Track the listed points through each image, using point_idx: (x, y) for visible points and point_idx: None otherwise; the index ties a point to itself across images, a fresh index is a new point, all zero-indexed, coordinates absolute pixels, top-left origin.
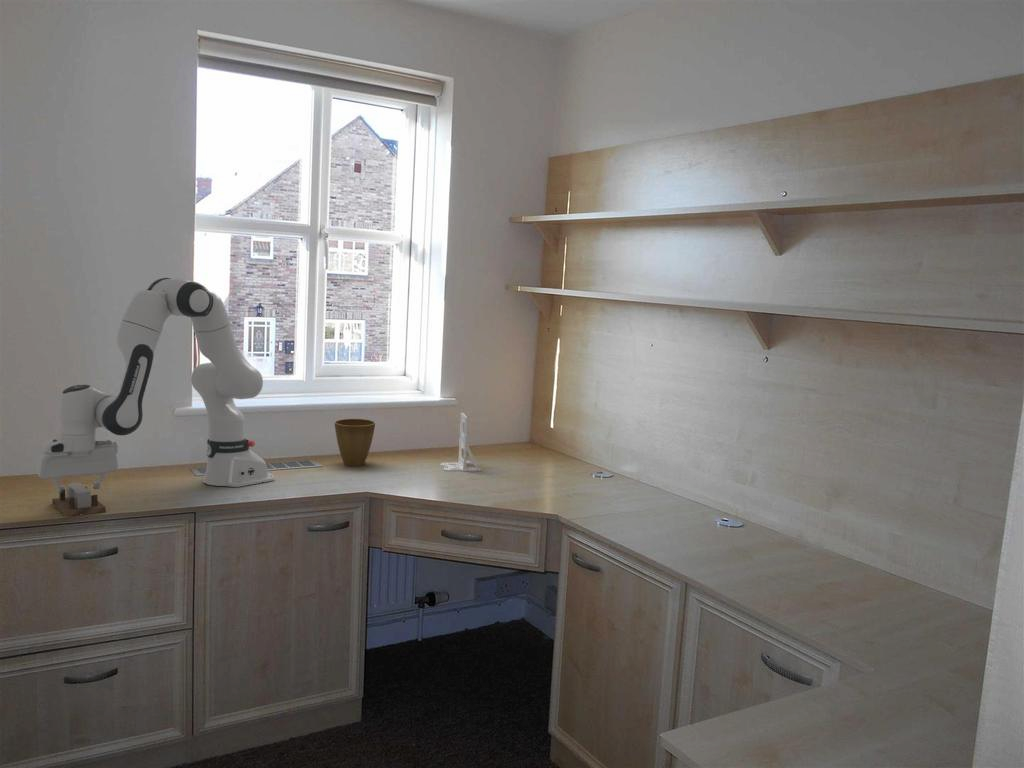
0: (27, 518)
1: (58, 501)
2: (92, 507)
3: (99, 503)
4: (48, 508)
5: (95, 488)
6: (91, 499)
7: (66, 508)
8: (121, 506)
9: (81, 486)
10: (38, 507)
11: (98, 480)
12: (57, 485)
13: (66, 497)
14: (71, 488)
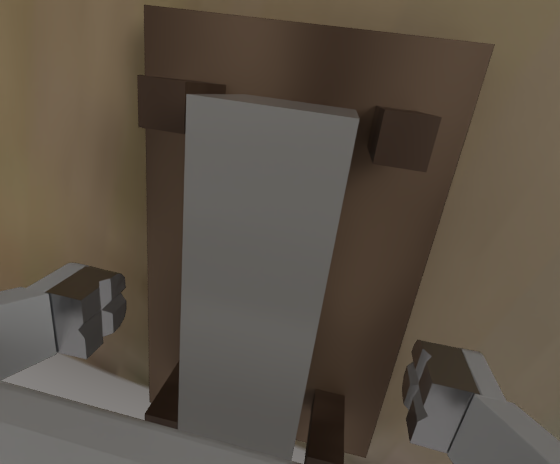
0: (3, 281)
1: (167, 140)
2: (299, 423)
3: (380, 376)
4: (121, 139)
5: (406, 391)
6: (397, 240)
7: (168, 350)
8: (517, 389)
9: (287, 330)
10: (68, 65)
11: (480, 458)
12: (7, 363)
13: (260, 31)
14: (182, 319)
